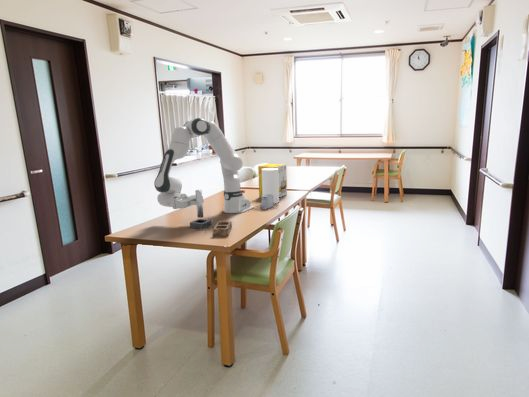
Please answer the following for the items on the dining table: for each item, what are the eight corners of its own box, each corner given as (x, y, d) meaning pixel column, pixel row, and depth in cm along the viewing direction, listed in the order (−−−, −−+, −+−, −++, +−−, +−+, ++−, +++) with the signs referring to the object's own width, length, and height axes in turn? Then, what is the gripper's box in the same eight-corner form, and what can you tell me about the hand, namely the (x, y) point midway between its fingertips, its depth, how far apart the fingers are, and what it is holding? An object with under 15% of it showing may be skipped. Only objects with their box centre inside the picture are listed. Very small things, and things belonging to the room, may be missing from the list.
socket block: (199, 223, 231) (198, 218, 230) (211, 224, 227) (211, 219, 226) (190, 227, 223) (189, 222, 222) (203, 228, 219) (202, 223, 218)
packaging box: (276, 199, 293) (276, 167, 288) (259, 197, 301) (258, 166, 296) (286, 195, 306) (286, 164, 301) (269, 193, 315) (268, 163, 310)
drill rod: (200, 215, 227) (198, 189, 223) (204, 216, 224) (202, 190, 221) (196, 217, 224) (194, 190, 220) (200, 218, 222) (198, 191, 218)
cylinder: (269, 199, 291) (268, 167, 286) (282, 201, 284) (281, 168, 278) (259, 202, 282) (258, 169, 277) (272, 204, 274) (271, 170, 269)
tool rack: (213, 236, 204) (213, 229, 204) (218, 228, 219) (217, 221, 218) (228, 236, 204) (227, 228, 203) (231, 228, 219) (231, 221, 218)
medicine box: (268, 206, 270) (268, 194, 268) (273, 206, 267) (273, 195, 266) (261, 208, 264) (261, 196, 262) (266, 209, 262) (266, 197, 260)
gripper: (191, 201, 237) (210, 203, 232) (171, 209, 219) (190, 211, 213) (191, 192, 236) (209, 193, 230) (170, 199, 218) (189, 200, 212)
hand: (200, 202), depth 222 cm, fingers closed on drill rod, 4 cm apart
